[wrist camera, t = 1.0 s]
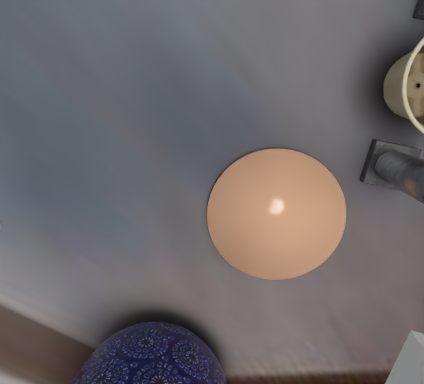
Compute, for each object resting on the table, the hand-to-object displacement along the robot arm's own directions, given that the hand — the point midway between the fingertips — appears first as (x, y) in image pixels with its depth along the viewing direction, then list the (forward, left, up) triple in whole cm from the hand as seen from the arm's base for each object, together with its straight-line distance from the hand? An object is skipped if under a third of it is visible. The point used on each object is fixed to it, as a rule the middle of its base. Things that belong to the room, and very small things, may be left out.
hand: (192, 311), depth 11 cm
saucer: (+5, +6, -27) cm, 28 cm away
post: (-3, +16, -27) cm, 32 cm away
